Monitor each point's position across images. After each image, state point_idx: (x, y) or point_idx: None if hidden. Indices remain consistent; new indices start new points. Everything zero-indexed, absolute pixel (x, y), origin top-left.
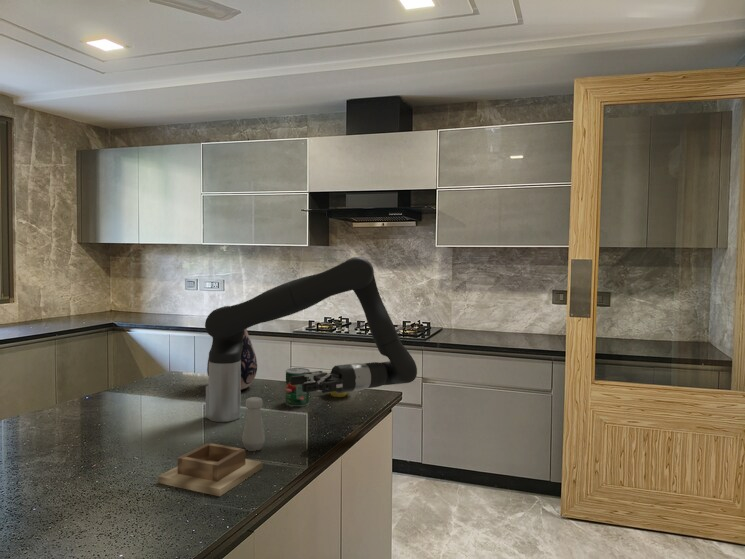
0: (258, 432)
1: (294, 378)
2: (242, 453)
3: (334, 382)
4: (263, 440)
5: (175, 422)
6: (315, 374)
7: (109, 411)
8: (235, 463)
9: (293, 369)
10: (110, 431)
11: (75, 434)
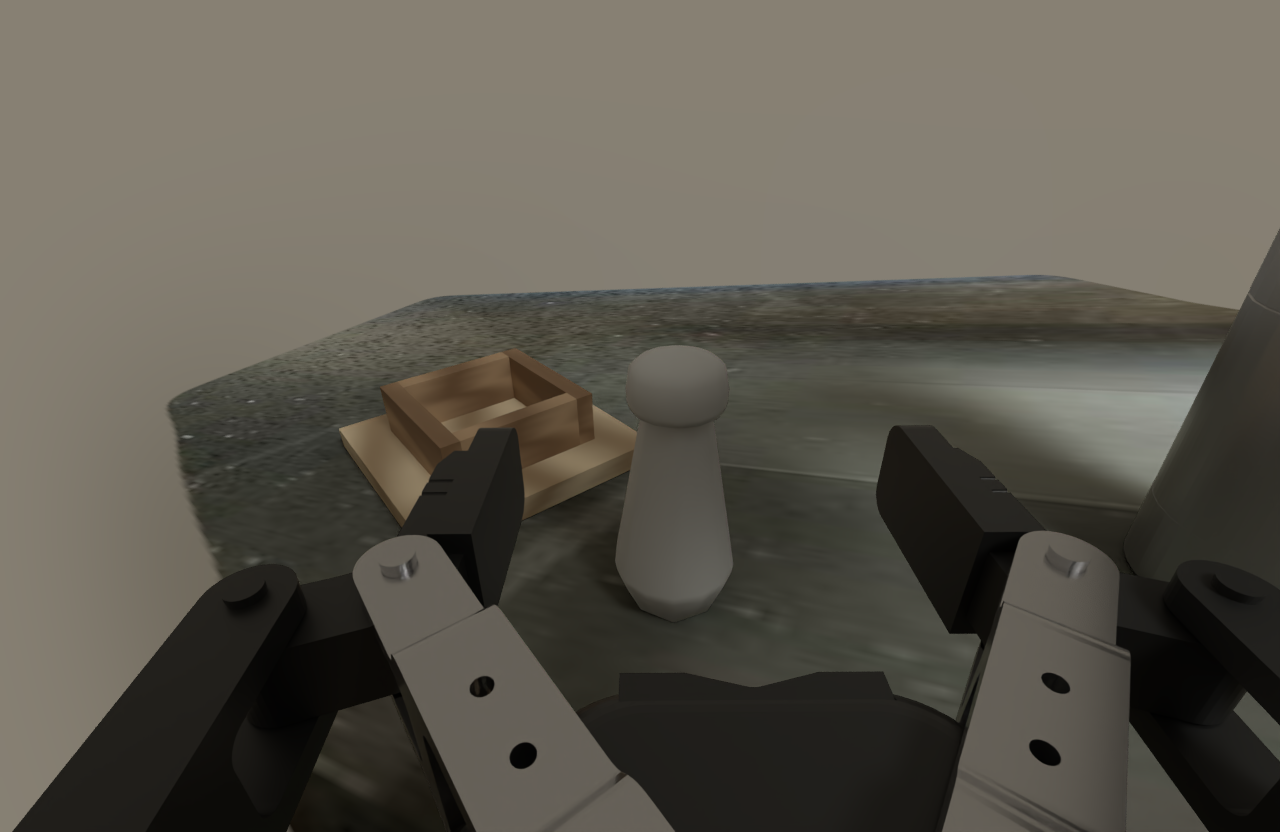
0: (623, 523)
1: (908, 462)
2: (433, 448)
3: (25, 820)
4: (626, 580)
5: (1087, 442)
6: (982, 677)
7: (1184, 351)
8: (421, 449)
9: None
10: (964, 350)
11: (940, 320)
